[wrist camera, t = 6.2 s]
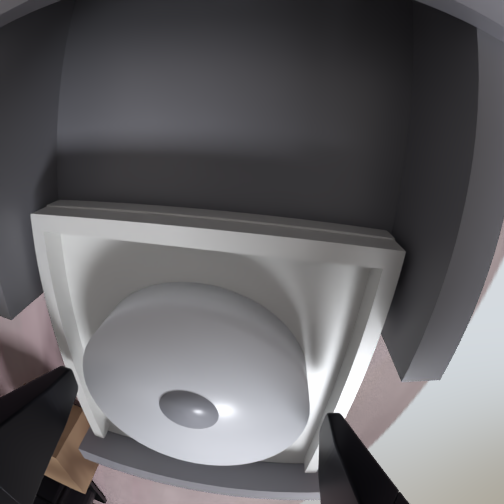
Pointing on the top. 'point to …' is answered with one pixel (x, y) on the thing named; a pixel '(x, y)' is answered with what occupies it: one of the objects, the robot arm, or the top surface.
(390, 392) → the top surface
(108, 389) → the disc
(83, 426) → the block
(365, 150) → the player housing
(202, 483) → the tray
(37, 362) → the top surface
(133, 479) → the top surface
